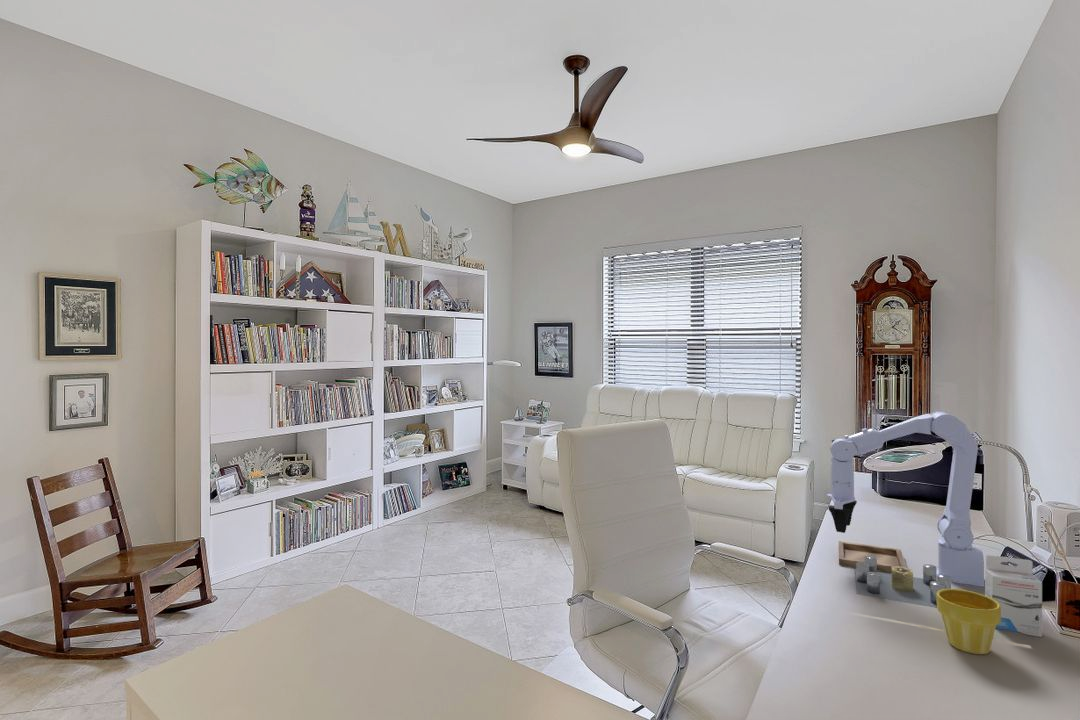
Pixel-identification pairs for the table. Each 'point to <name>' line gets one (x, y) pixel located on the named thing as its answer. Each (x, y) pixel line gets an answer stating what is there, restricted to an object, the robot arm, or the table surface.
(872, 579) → the spacers
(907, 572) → the nut
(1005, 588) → the ink box
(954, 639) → the plant pot
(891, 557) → the tray
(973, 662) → the table surface
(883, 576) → the mat
